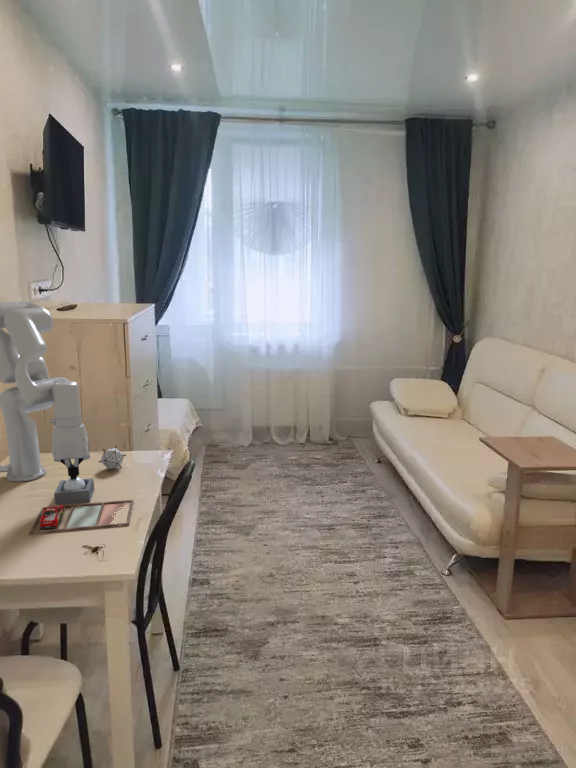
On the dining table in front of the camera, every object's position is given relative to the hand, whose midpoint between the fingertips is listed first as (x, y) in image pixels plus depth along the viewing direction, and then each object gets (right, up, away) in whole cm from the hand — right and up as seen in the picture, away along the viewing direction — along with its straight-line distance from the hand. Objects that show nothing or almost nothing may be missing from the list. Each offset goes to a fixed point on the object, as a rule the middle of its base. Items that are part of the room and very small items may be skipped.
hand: (74, 477), depth 171 cm
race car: (-1, -10, -13) cm, 17 cm away
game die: (+4, -1, +25) cm, 26 cm away
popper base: (0, -6, +2) cm, 7 cm away
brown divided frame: (+8, -9, -12) cm, 17 cm away
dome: (0, -6, +2) cm, 6 cm away
